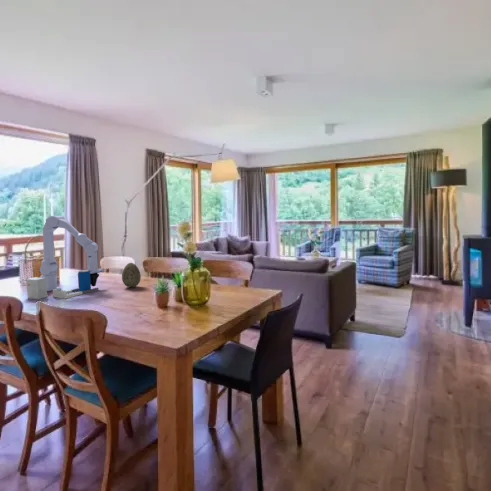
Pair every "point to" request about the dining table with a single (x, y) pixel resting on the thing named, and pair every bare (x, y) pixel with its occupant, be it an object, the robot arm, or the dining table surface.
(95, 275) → the robot arm
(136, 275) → the decorative egg
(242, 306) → the dining table surface
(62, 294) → the dock
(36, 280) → the small box
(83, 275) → the beverage can
